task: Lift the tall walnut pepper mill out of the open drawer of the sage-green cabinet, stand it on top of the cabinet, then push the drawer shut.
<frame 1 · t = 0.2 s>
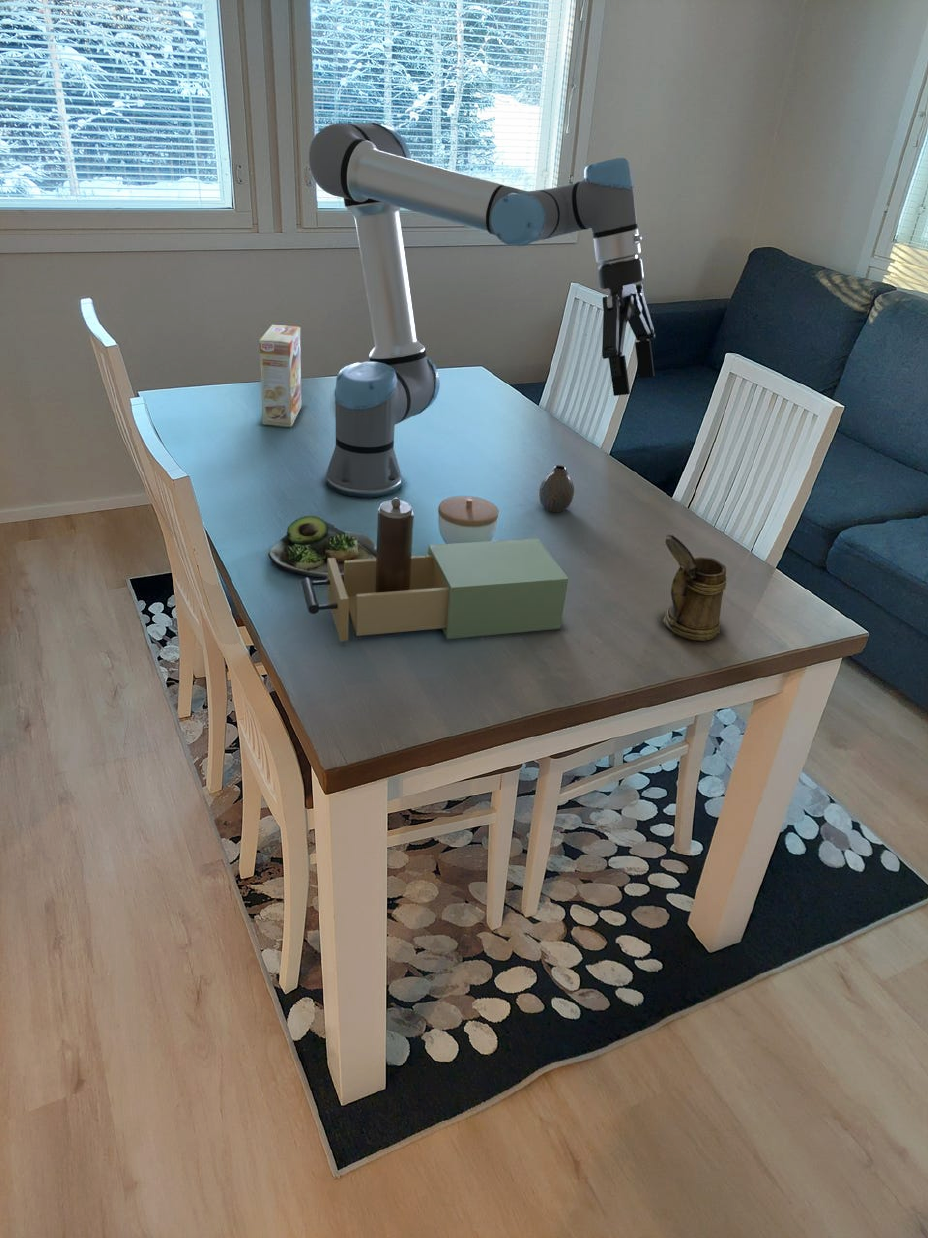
hand: (634, 385, 156), 28 cm above the table, tool tilted 20°, fingers open, 13 cm apart
coffeecake box: (282, 416, 207), on the table
pepper mill: (391, 608, 134), point 2 cm above the table, touching drawer
drawer: (376, 595, 132), point 5 cm above the table, slide at 15.0 cm, touching pepper mill
salad plate: (322, 556, 150), on the table
trinket box: (464, 547, 158), on the table
vase: (554, 508, 175), on the table
cabinet: (491, 610, 139), on the table
wooden mug: (680, 629, 140), on the table
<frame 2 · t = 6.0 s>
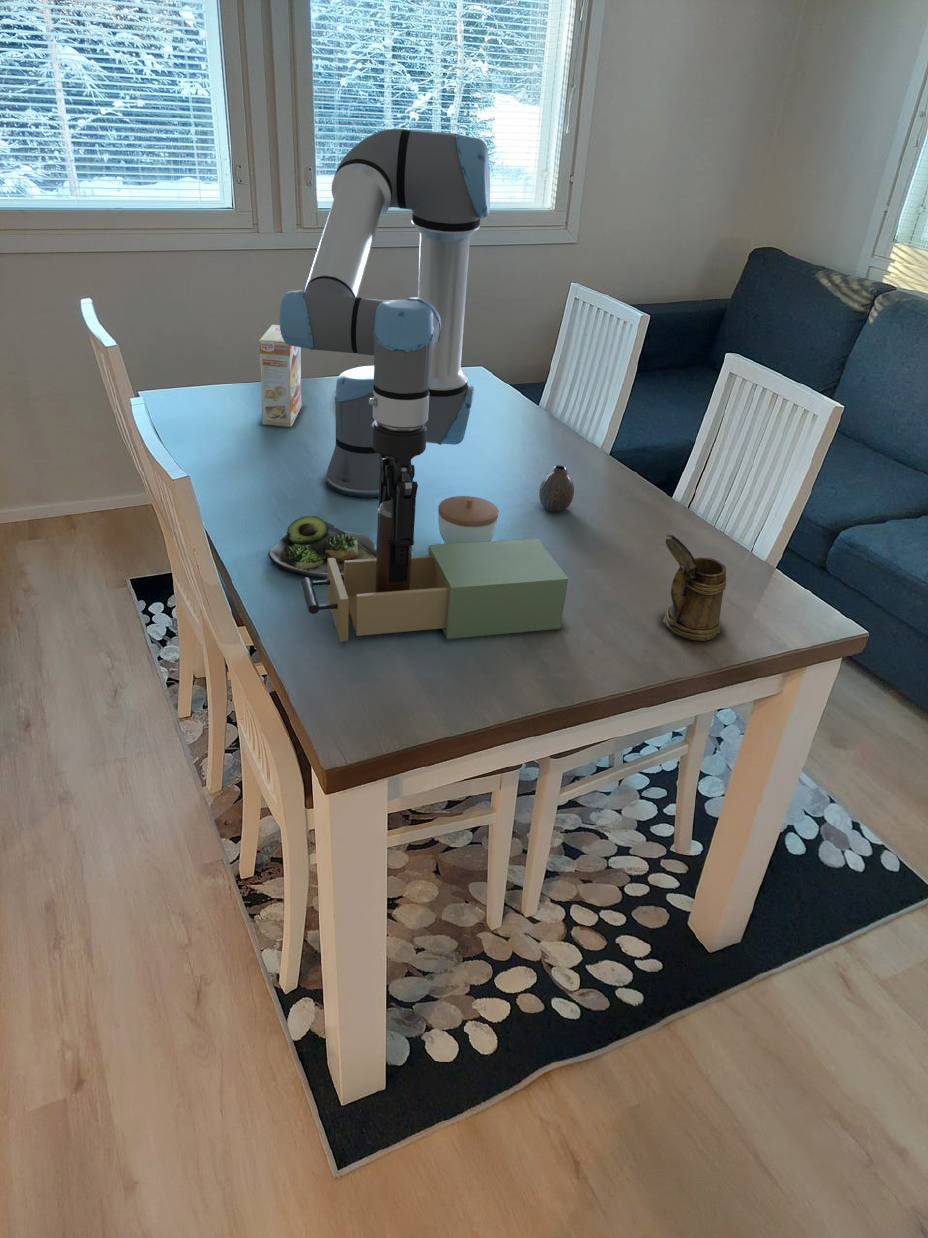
hand: (393, 570, 130), 9 cm above the table, tool pointing down, fingers closed on pepper mill, 5 cm apart
pepper mill: (391, 608, 134), point 2 cm above the table, touching drawer, gripper
everything else where it was.
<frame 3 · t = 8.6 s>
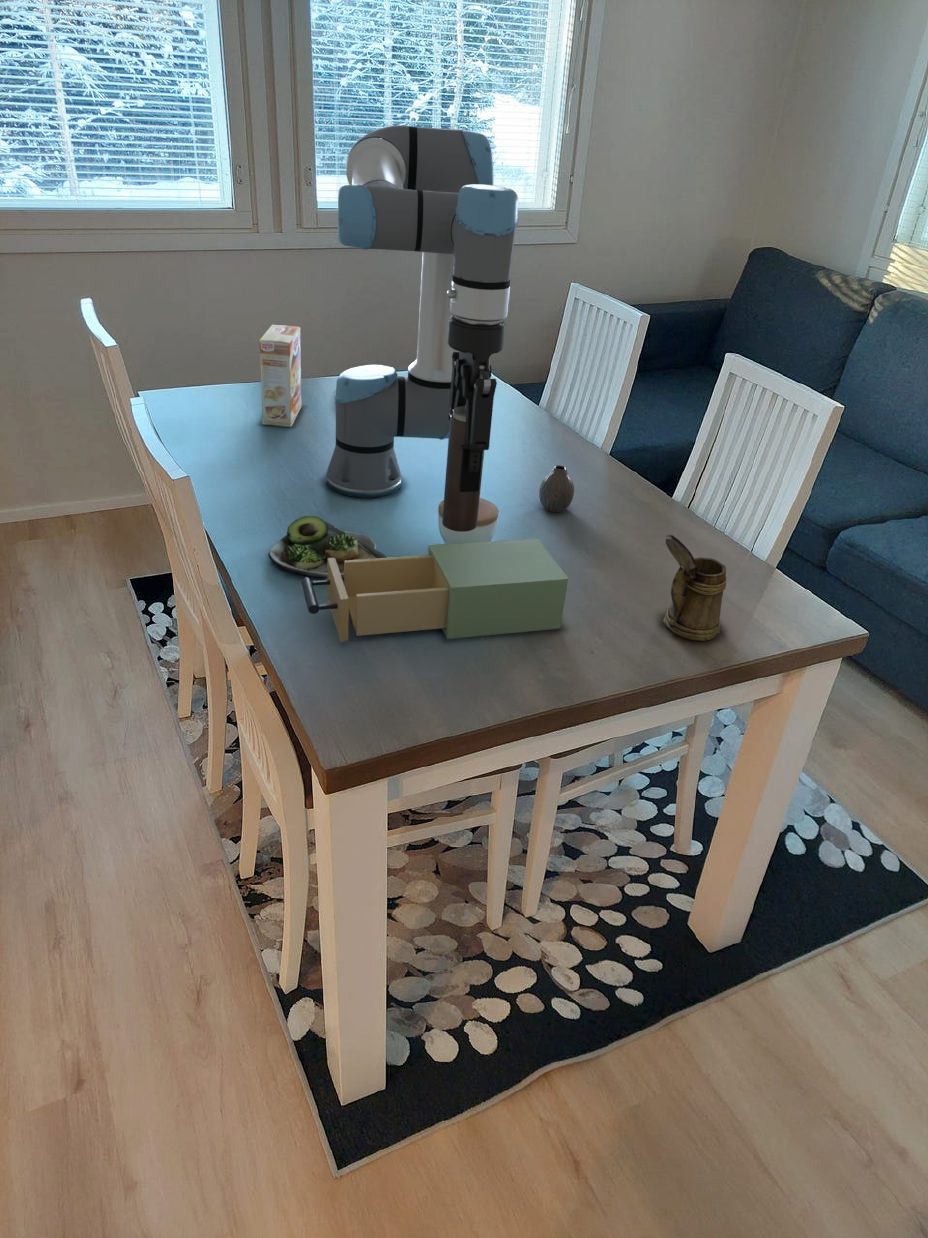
hand: (463, 481, 125), 23 cm above the table, tool pointing down, fingers closed on pepper mill, 5 cm apart
pepper mill: (459, 523, 129), point 16 cm above the table, touching gripper
drawer: (376, 595, 132), point 5 cm above the table, slide at 15.0 cm
everything else where it was.
when the fingers open (16 cm above the table, at t = 11.5 s): pepper mill stays where it is, resting on cabinet.
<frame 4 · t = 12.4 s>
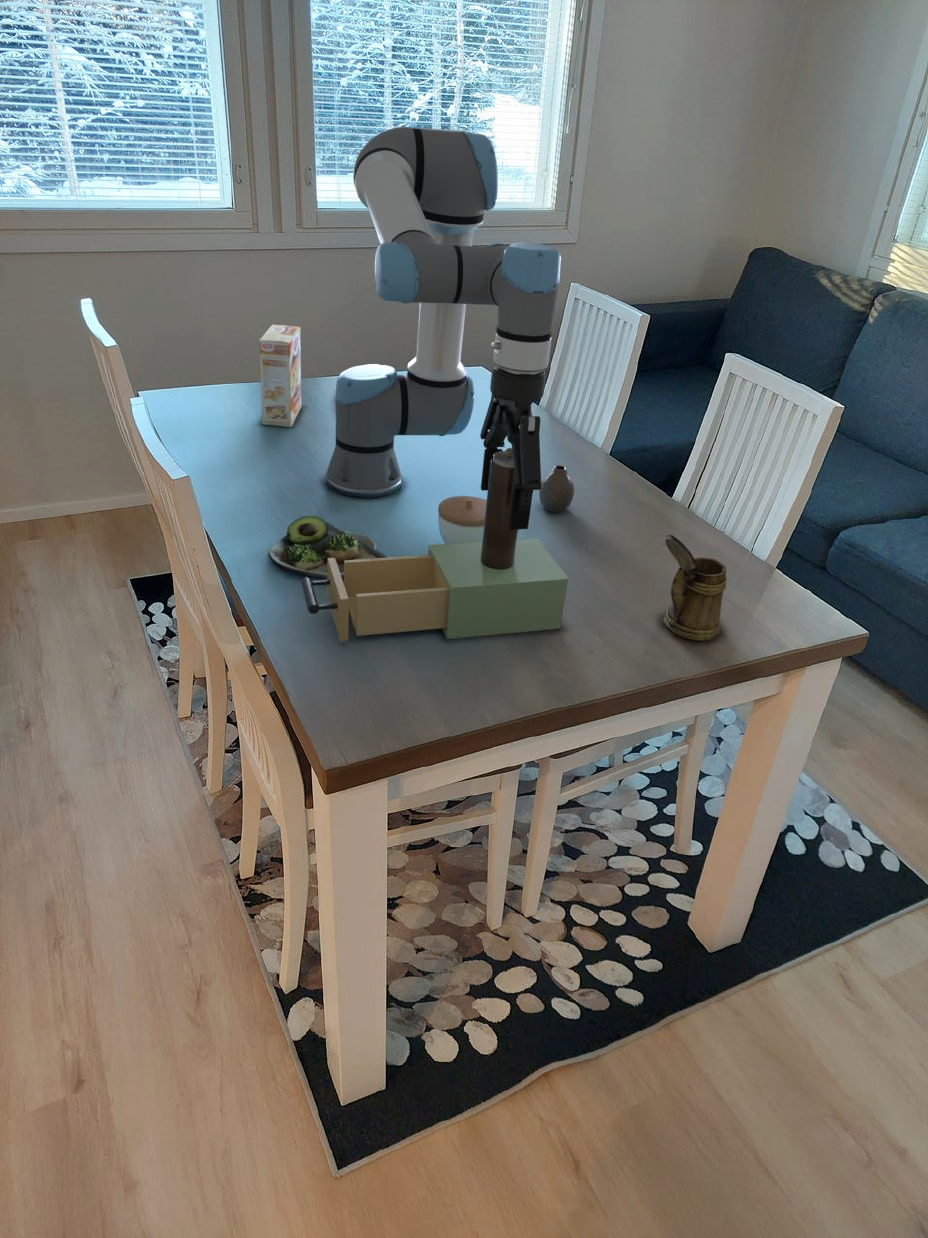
hand: (503, 508, 130), 18 cm above the table, tool pointing down, fingers open, 13 cm apart
pepper mill: (497, 561, 135), point 9 cm above the table, touching cabinet
everything else where it was.
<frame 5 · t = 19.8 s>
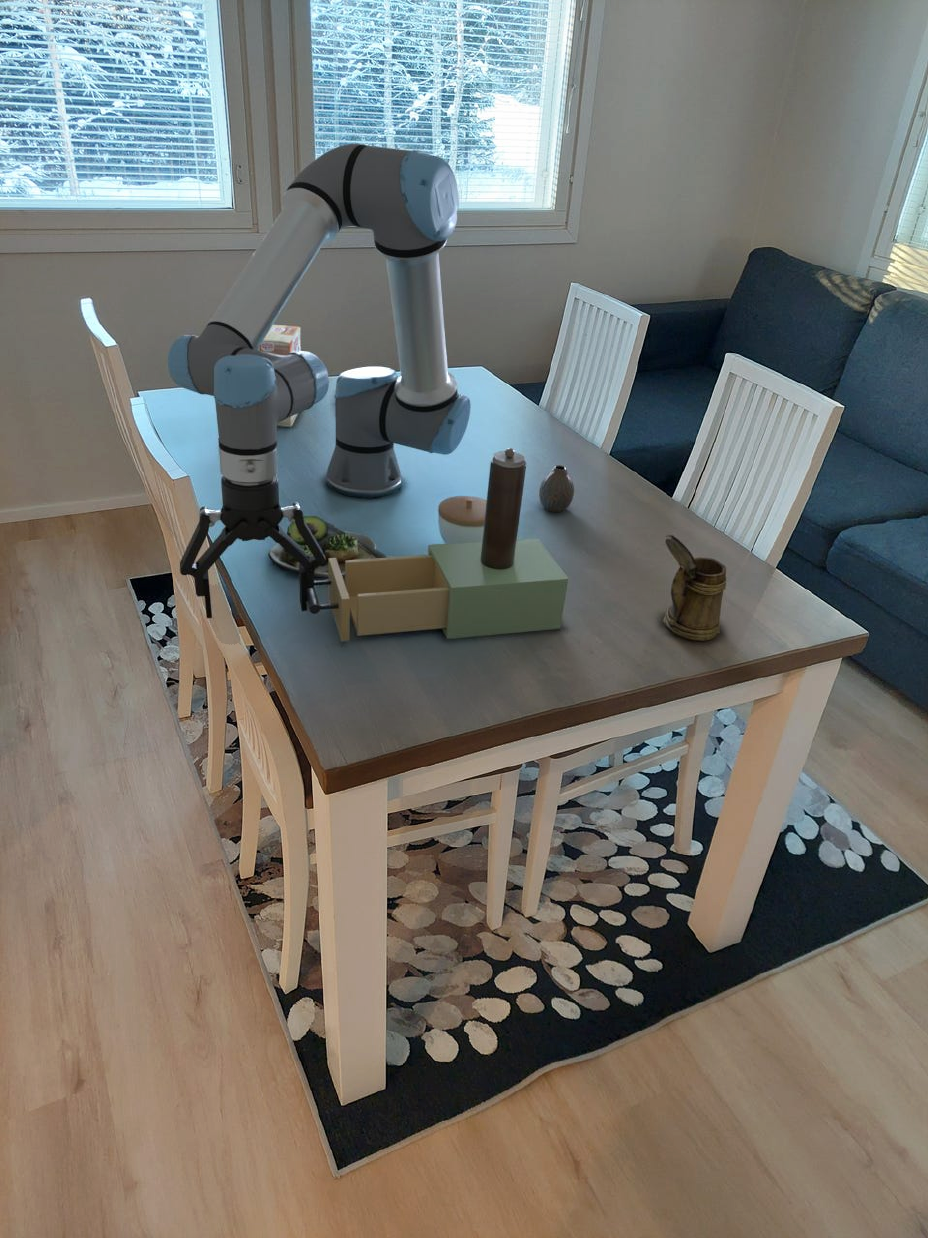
hand: (256, 609, 127), 4 cm above the table, tool pointing down, fingers open, 13 cm apart
drawer: (377, 595, 132), point 5 cm above the table, slide at 14.8 cm, touching gripper
everything else where it was.
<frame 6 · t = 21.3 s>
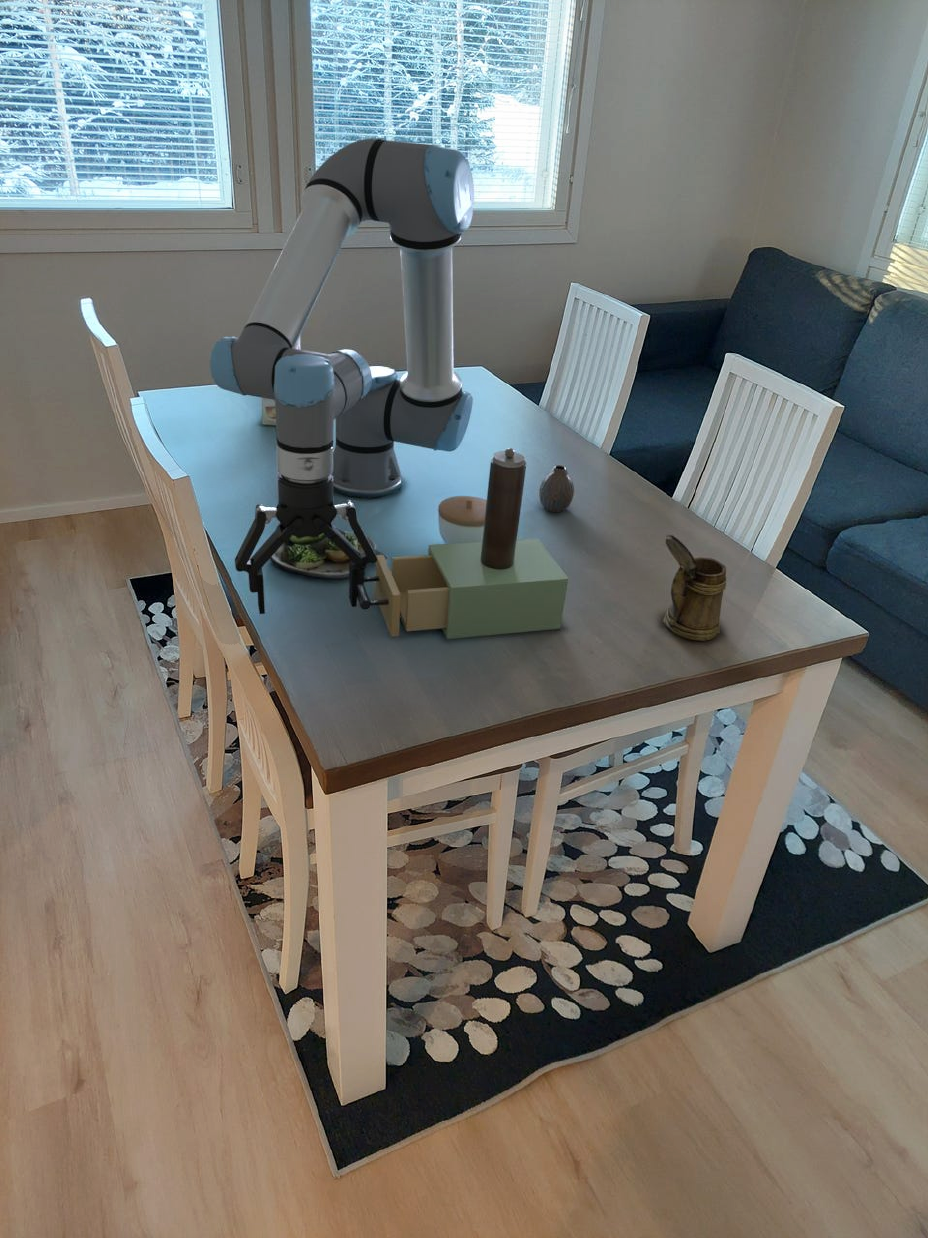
hand: (307, 605, 129), 4 cm above the table, tool pointing down, fingers open, 13 cm apart
drawer: (425, 591, 134), point 5 cm above the table, slide at 7.4 cm, touching gripper
everything else where it was.
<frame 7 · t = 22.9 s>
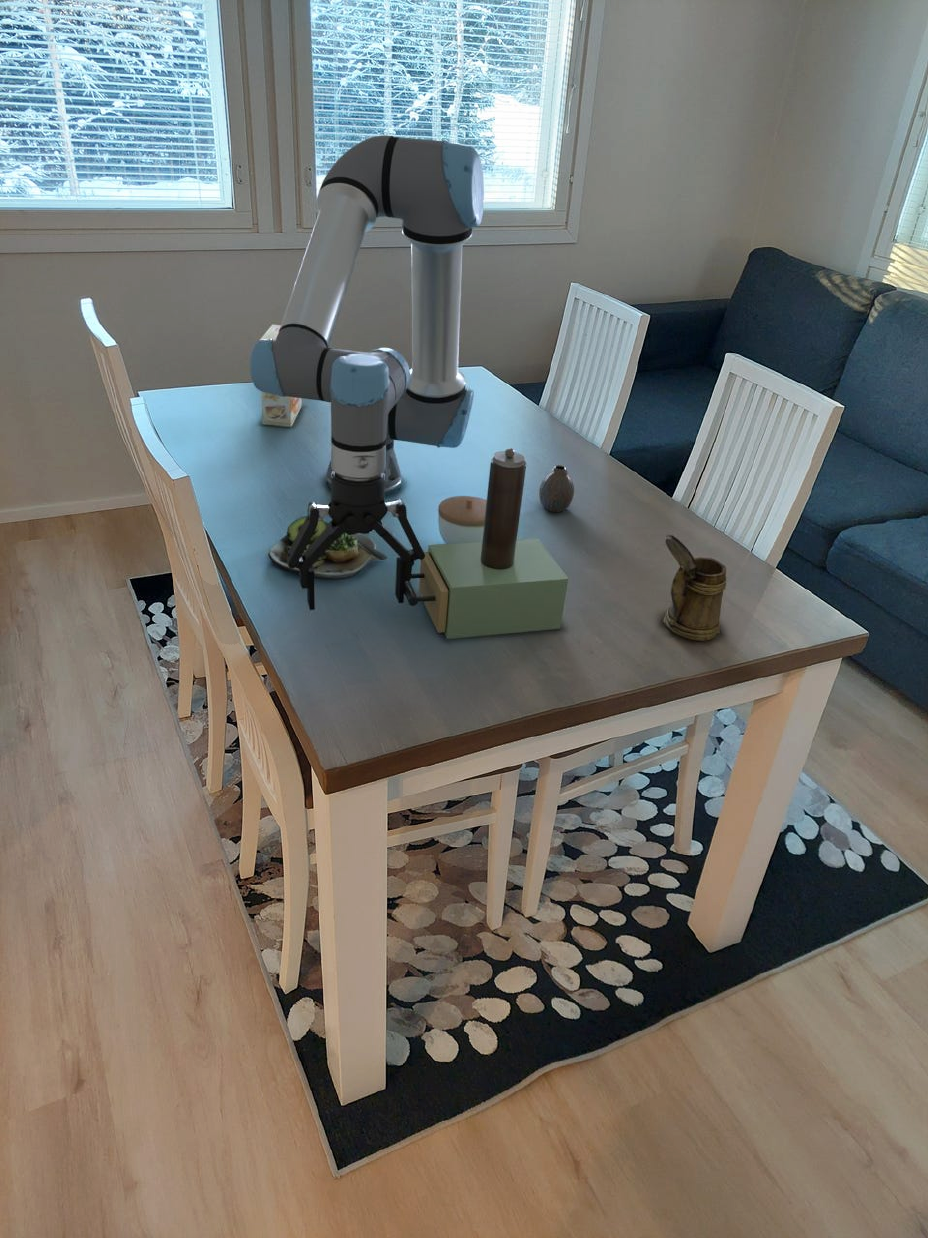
hand: (355, 602, 131), 4 cm above the table, tool pointing down, fingers open, 13 cm apart
drawer: (469, 588, 136), point 5 cm above the table, slide at 0.1 cm, touching gripper
everything else where it was.
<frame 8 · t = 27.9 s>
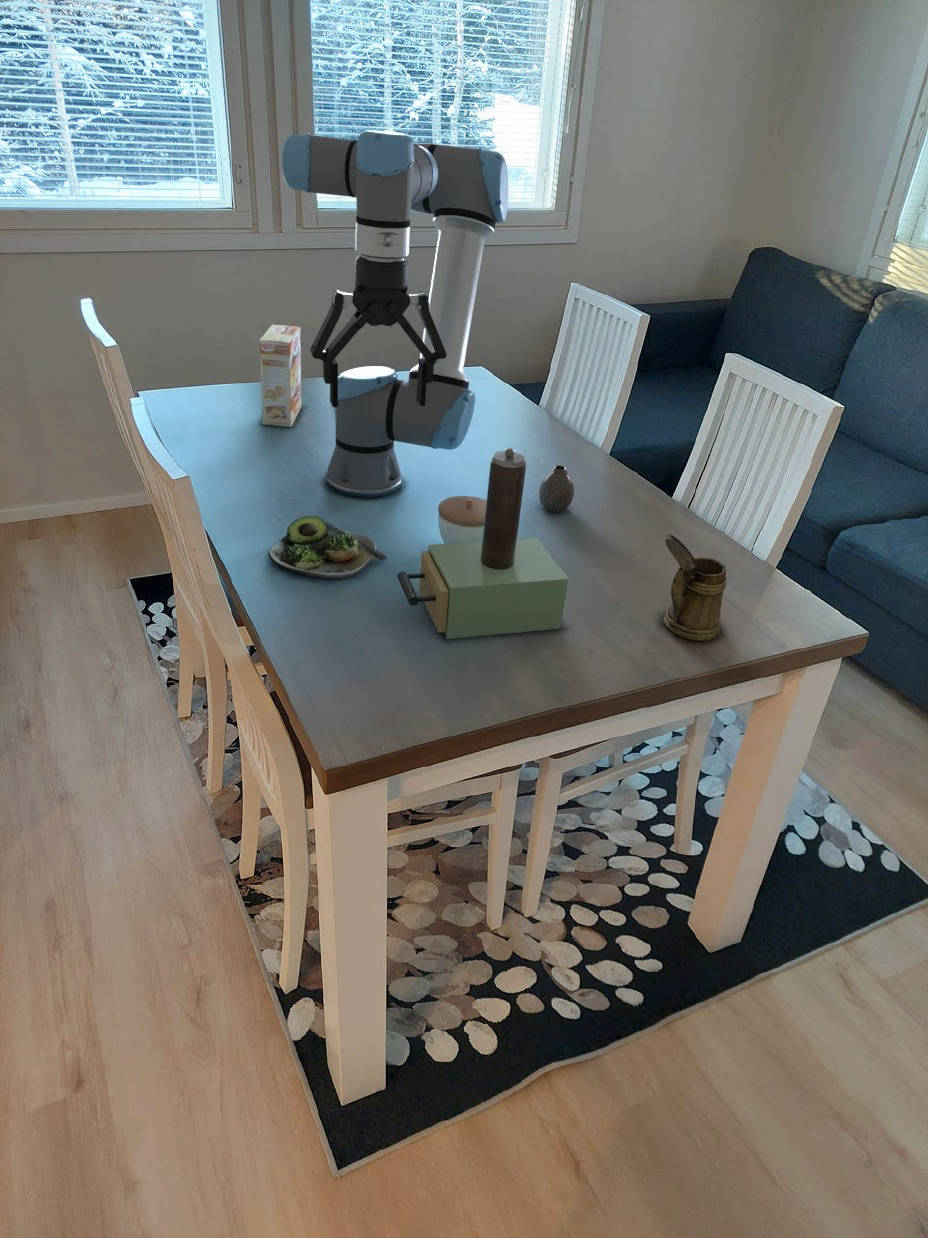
hand: (377, 403, 133), 29 cm above the table, tool pointing down, fingers open, 13 cm apart
drawer: (470, 588, 136), point 5 cm above the table, slide at 0.1 cm
everything else where it was.
at the end: pepper mill inside the target area on the cabinet (0.0 cm from its centre), point 9.1 cm above the cabinet's base; pepper mill tilted 0°; drawer slide at 0.1 cm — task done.
